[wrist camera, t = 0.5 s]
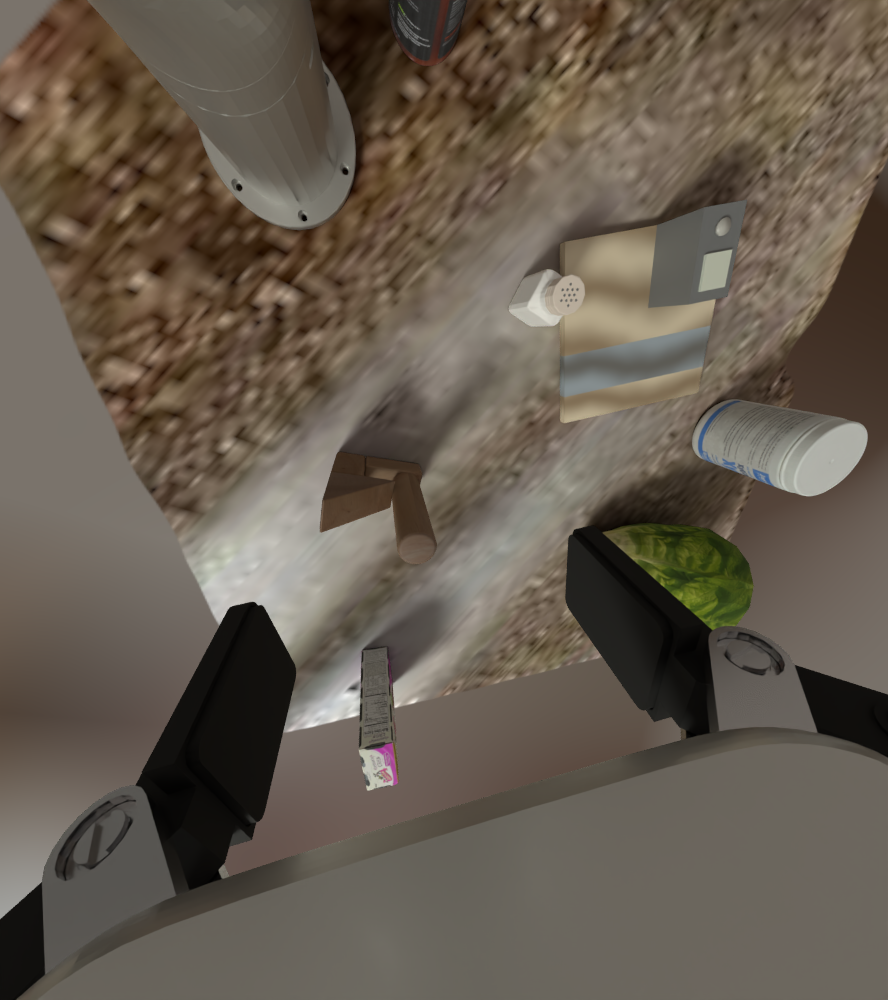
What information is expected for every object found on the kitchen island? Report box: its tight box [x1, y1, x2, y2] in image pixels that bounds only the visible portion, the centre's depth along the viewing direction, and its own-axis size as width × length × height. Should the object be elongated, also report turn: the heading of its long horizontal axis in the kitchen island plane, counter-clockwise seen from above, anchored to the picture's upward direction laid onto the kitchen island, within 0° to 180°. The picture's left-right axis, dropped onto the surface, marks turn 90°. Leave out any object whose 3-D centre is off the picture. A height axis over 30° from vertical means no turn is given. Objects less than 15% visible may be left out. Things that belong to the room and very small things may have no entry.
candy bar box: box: [359, 647, 399, 790], centre depth 55 cm, size 11×5×16 cm, turn 0°
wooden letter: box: [320, 452, 437, 564], centre depth 37 cm, size 4×11×18 cm, turn 76°
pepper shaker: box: [509, 269, 585, 327], centre depth 35 cm, size 4×4×10 cm
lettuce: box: [602, 523, 754, 630], centre depth 53 cm, size 17×23×16 cm
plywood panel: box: [560, 225, 716, 423], centre depth 42 cm, size 20×20×1 cm
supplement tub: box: [692, 399, 867, 496], centre depth 45 cm, size 10×10×15 cm
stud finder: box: [648, 200, 747, 308], centre depth 36 cm, size 8×4×6 cm, turn 10°
